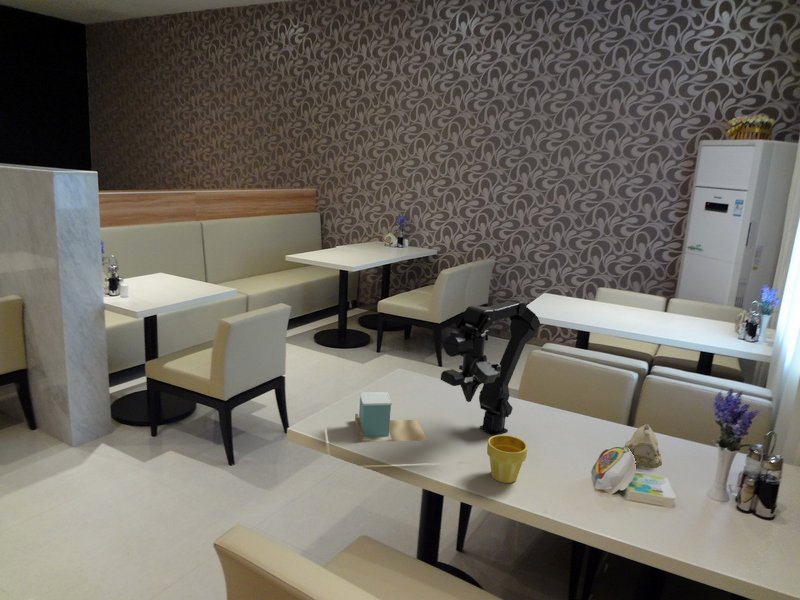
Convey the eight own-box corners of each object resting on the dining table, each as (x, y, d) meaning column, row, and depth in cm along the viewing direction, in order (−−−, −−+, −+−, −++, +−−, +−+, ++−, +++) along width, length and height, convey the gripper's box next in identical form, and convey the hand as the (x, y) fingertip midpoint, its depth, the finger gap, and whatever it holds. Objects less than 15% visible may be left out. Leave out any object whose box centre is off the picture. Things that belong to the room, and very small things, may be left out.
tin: (384, 424, 178) (387, 392, 176) (389, 436, 170) (391, 403, 168) (357, 424, 176) (359, 392, 174) (361, 437, 168) (363, 403, 166)
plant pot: (479, 480, 150) (483, 446, 148) (489, 463, 160) (492, 431, 158) (519, 491, 147) (523, 456, 144) (526, 472, 156) (530, 439, 154)
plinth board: (417, 421, 183) (418, 412, 182) (427, 442, 170) (428, 432, 169) (354, 422, 179) (355, 413, 179) (360, 443, 166) (360, 434, 165)
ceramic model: (661, 472, 162) (667, 439, 160) (619, 461, 166) (624, 429, 164) (662, 451, 174) (667, 421, 172) (623, 442, 179) (628, 412, 177)
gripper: (468, 363, 153) (462, 418, 157) (517, 354, 164) (511, 405, 167) (441, 351, 162) (437, 403, 165) (489, 343, 173) (484, 392, 176)
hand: (468, 401), depth 168 cm, fingers closed
